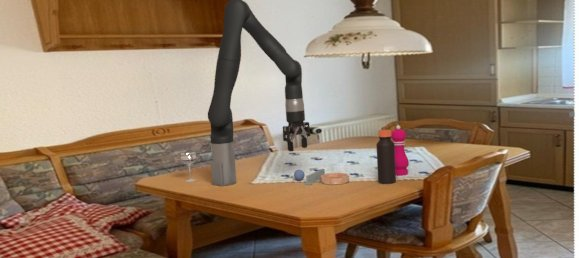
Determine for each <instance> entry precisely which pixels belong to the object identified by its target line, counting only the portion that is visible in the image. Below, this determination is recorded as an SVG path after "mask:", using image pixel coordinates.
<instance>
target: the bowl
mask: <svg viewBox="0 0 579 258" xmlns="http://www.w3.org/2000/svg"><path fill="white" fill-rule="evenodd" d="M320 177H321V179H320V183H321V185H322V184H323V185H327V186H329V185H330V186H334V185H335V186H337V185H344V184H347V183H349V182H350V175H349V174H348V173H344V172H330V173H325V174H324V175H321V176H320Z"/></svg>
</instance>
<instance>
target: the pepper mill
mask: <svg viewBox="0 0 579 258" xmlns="http://www.w3.org/2000/svg"><path fill="white" fill-rule="evenodd" d="M401 128H402V127H401V126H400V125H399V124H398V125H396V126H395V129H394V130H391V140H392V141H393V142H394V147H395V171H396V176H407V175H408V174H409V169H408V167H409V164H410V163H409V159H408V156H407V155H406V151H405V145H406V138H407V132H406V131H405V130H404V129H401Z"/></svg>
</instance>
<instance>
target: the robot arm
mask: <svg viewBox="0 0 579 258" xmlns="http://www.w3.org/2000/svg"><path fill="white" fill-rule="evenodd" d="M243 30H245V31H246V32H247V33H248V34H249V35H250V36H251V37H252V39H253V41H255V43H256V44H257V46H258V47H259V48H260V49H261V50H262V51H263V52H264V54H265V55H267V57H268V58H269V59H270V60H271V61H272V62H273V63H274V64H275V66H276V67H277V68H278V69H279V71H280V72H281V73H282V74H283V75H284V77H285V85H284V86H285V87H284V98H285V101H284V102H285V103H284V104H285V117H286V118H285V119H286V120H285V121H286V122H287V123H288V125H283V126H282V140H283V142H286V144H287V150H288V152H294V151H295V150H294V142H293V141H294V139H295V138H296V136H300V138H301V148H302V149H307V148H308V138H309V137H310V136H311V129H310V122H309V121H305V120H306V114H305V103H304V97H303V96H304V95H303V87H302V81H303V73H302V72H303V69H302V65H301V63H300V62H299V61H297V60H296V59H294V58H293V57H292V56H291V55H290V54H289V53H288V52H287V50H286V48H285V47H284V46H283V45H282V44H281V43H280V41H279V40H277V38H276V37H275V36H273V35H272V34H271V32H269V31H268V29H266V27H264V25H262V23H261V22H260V21H259V19H258V18H257V17H256V15H255V14H254V12H253V11H252V10H251V8H250V6H249V5H248V3H247V2H246V1H245V0H229V1H228V2H227V3H226V4H225V7H224V16H223V30H222V37H221V41H220V44H219V49H218V55H217V59H216V64H215V65H216V66H215V73H214V85H213V86H214V87H213V93H212V97H211V101H210V105H209V107H208V111H207V120H208V122H209V123H210V147H211V150H210V151H211V159H212V161H211V162H210V170H211V171H210V172H211V184H212V185H214V186H220V187H223V186H231V185H235V184H236V183H237V172H236V171H237V170H236V160H235V159H236V158H235V157H236V155H235V145H234V122H233V121H234V120H233V111H232V109H231V102H232V101H231V100H232V94H233V92H234V87H235V85H236V82H237V79H238V75H239V72H240V67H241V59H242V31H243Z"/></svg>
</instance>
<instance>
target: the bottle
mask: <svg viewBox="0 0 579 258" xmlns="http://www.w3.org/2000/svg"><path fill="white" fill-rule="evenodd" d="M377 132H378V133H377V135H378V138H379V140H378V141H377V143H376V165H377V167H376V168H377V182H378V184H383V185H390V184H394V183H396V182H397V175H396V171H395V147H394V142H393V139H392V138H391V133H392V130H390V129H381V130H378V131H377Z"/></svg>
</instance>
